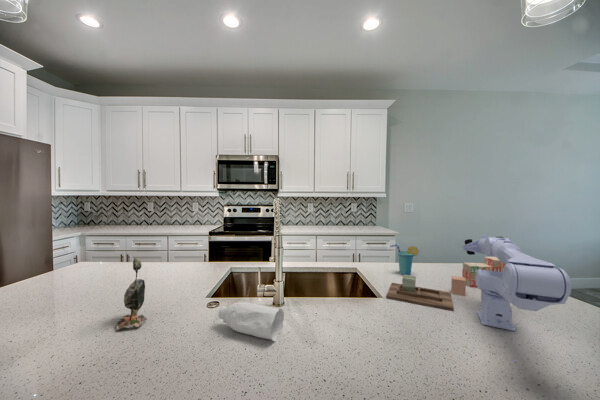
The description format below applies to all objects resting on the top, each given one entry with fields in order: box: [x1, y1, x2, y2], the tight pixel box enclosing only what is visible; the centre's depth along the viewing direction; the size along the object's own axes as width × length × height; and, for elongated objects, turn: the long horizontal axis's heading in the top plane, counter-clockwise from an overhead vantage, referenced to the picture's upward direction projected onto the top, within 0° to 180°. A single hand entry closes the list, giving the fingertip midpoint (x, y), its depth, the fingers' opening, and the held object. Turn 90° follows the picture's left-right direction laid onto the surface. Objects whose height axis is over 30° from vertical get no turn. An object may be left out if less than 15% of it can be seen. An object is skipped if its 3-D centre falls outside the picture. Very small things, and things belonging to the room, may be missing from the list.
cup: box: [389, 243, 420, 276], centre depth 125 cm, size 14×8×15 cm, turn 94°
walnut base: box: [385, 275, 455, 312], centre depth 98 cm, size 16×22×7 cm
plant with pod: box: [115, 257, 147, 331], centre depth 75 cm, size 8×11×20 cm
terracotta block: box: [450, 275, 467, 297], centre depth 102 cm, size 4×4×6 cm
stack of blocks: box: [461, 256, 506, 288], centre depth 110 cm, size 21×6×12 cm, turn 85°
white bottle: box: [217, 301, 285, 342], centre depth 71 cm, size 8×19×8 cm, turn 68°
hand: (480, 245), depth 98 cm, fingers open, 7 cm apart
